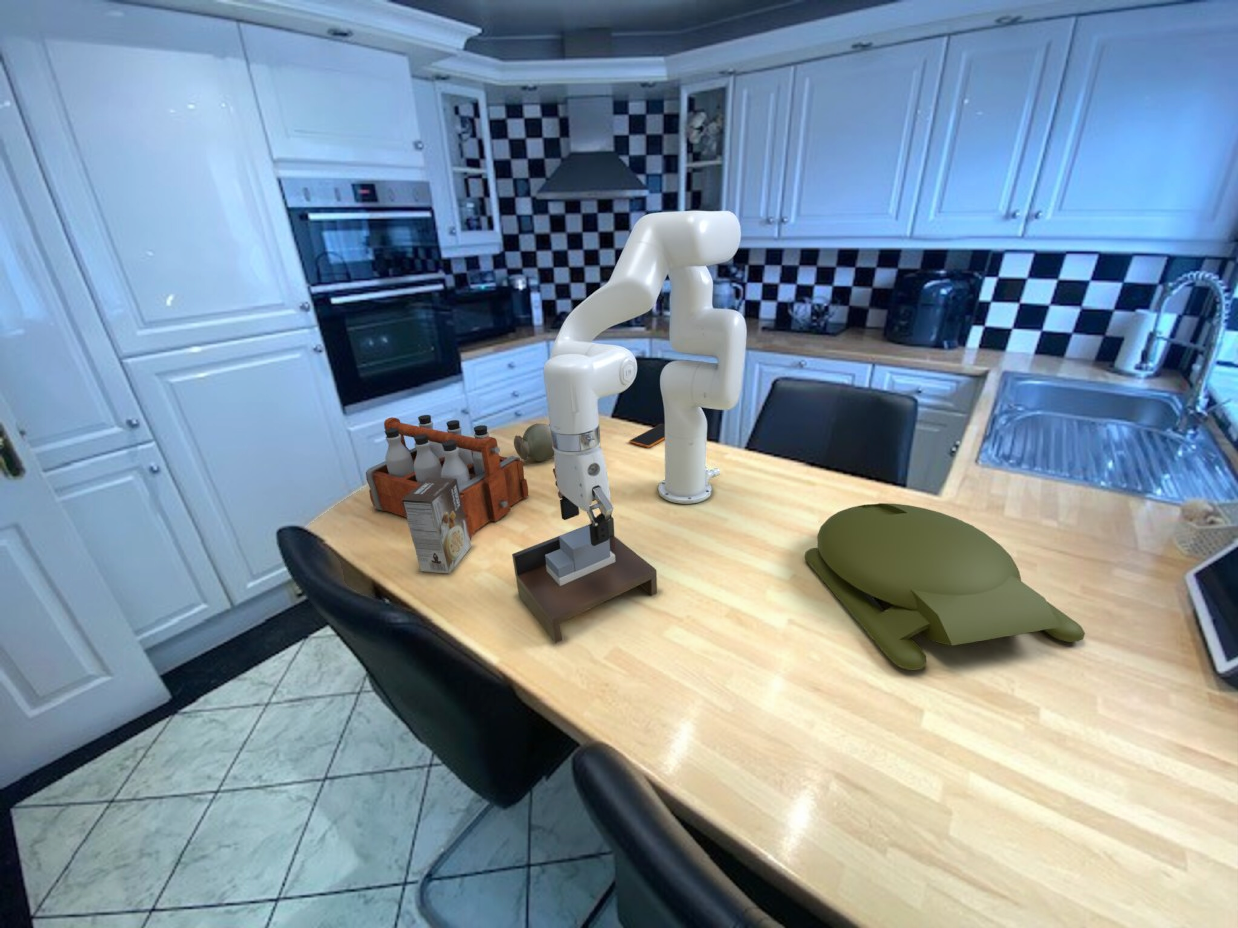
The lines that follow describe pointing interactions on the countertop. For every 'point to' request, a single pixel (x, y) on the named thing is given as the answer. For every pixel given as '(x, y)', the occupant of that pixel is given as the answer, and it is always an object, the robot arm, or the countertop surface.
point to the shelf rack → (577, 582)
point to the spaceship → (927, 581)
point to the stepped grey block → (577, 556)
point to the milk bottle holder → (447, 470)
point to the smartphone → (650, 437)
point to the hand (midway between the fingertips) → (584, 529)
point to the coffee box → (437, 524)
